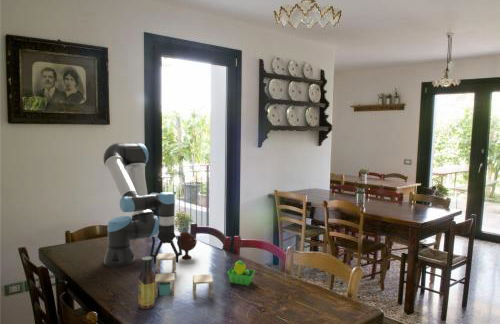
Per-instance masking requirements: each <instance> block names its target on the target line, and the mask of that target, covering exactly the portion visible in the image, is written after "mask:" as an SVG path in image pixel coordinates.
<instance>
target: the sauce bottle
mask: <svg viewBox="0 0 500 324" xmlns="http://www.w3.org/2000/svg"><path fill="white" fill-rule="evenodd" d="M140 260H141V261H140V262H141V271H140V273H139V275H138V277H137V278H138V280H137V281H138V289H137V290H138V294H137V295H138V298H137V299H138V307H139V308H140V309H143V310H147V309H151V308H153V307H154V306H155V301H156V297H155V277H156V274H155V272H154V271H153V269H152V265H153V263H152V262H153V257H152V256H148V255H147V256H143V257H141V259H140Z"/></svg>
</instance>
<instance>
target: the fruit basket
mask: <svg viewBox="0 0 500 324" xmlns="http://www.w3.org/2000/svg"><path fill="white" fill-rule="evenodd" d="M246 268H247V266H246V264H245V263H244V262H243V261H242V260H238V261H236V262H235V264H234V267H231V268H230V269H229V270H228V271H227V275H228V280H229V283H232V284H236V285H243V286H249V285H250V284H251V283H252V281H253V277H254V275H255V270H253V269H246Z"/></svg>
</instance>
